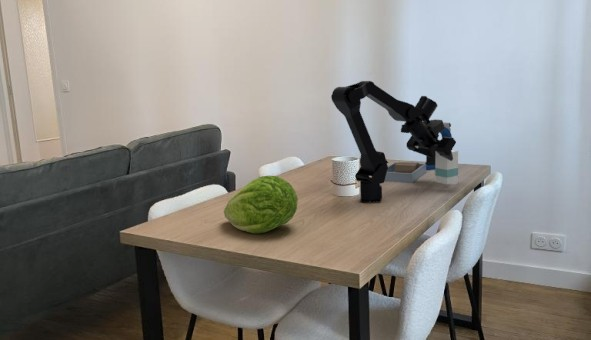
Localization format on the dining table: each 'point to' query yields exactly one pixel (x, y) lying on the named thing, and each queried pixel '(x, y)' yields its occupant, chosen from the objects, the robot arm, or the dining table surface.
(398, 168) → the walnut block
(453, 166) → the carton
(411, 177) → the tote
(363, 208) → the dining table surface
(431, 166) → the handheld scanner
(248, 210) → the lettuce
